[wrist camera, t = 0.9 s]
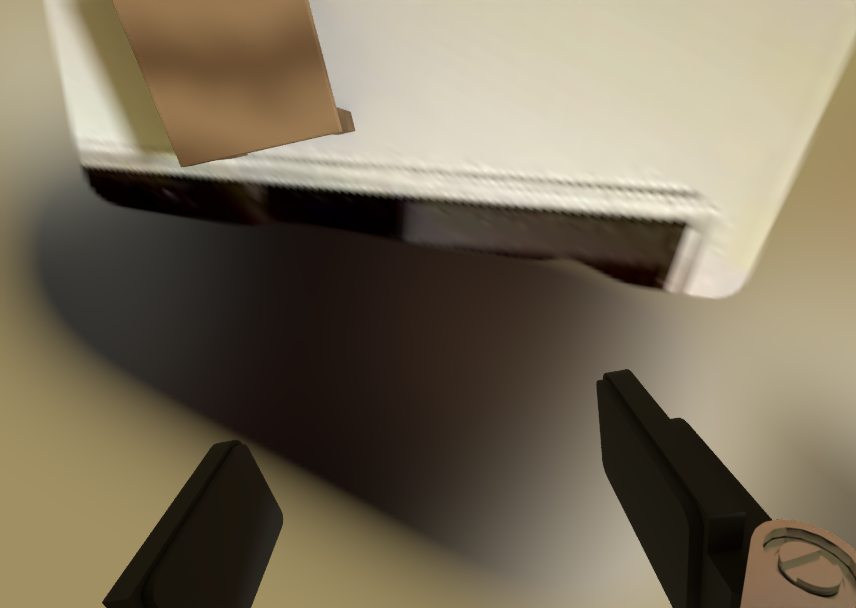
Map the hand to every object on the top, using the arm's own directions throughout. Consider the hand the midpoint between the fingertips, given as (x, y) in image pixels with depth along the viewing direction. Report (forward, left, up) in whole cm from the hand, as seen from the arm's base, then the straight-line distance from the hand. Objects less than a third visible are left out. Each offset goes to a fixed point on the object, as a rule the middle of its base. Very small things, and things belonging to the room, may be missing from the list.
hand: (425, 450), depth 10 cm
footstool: (-15, -10, -27) cm, 32 cm away
